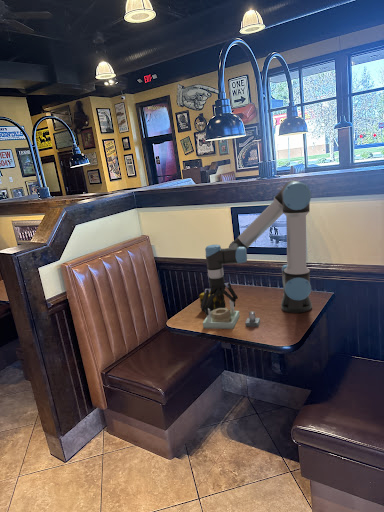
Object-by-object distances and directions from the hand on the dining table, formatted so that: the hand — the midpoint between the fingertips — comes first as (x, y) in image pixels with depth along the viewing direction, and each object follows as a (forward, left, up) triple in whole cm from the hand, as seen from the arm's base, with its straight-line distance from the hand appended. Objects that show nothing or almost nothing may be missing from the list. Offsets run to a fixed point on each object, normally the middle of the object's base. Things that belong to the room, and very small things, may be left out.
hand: (221, 317), depth 188 cm
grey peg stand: (-16, +2, -3) cm, 16 cm away
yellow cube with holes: (+9, -17, -3) cm, 19 cm away
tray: (0, 0, -3) cm, 3 cm away
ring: (+1, -1, -2) cm, 2 cm away
